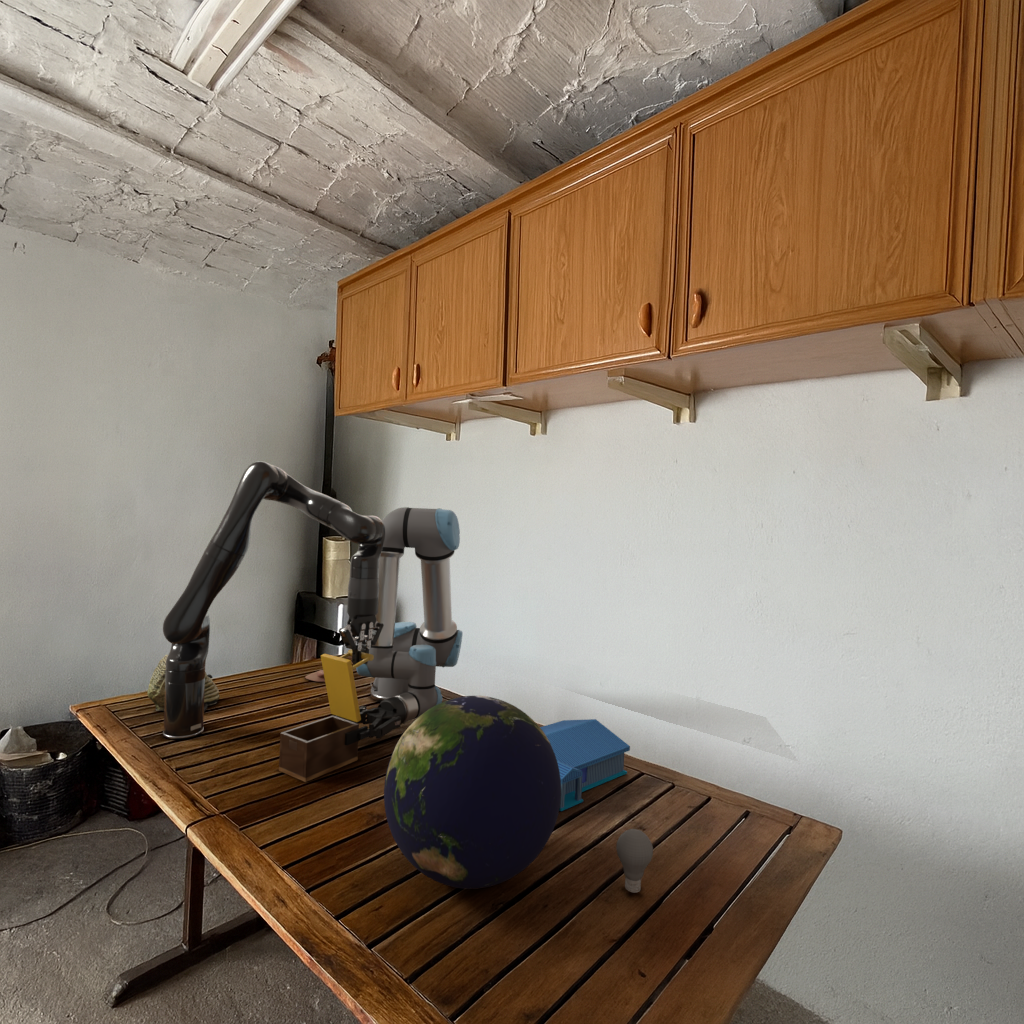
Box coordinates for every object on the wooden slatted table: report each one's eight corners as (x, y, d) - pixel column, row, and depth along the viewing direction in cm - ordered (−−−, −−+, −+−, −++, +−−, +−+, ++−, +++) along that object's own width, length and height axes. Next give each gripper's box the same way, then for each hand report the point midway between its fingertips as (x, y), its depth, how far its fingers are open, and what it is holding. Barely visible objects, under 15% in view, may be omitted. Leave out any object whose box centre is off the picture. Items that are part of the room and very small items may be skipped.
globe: (343, 899, 100) (350, 710, 100) (435, 815, 128) (441, 667, 127) (518, 958, 89) (528, 746, 88) (578, 852, 117) (585, 690, 116)
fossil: (144, 707, 182) (145, 655, 182) (212, 696, 194) (213, 647, 194) (151, 716, 175) (153, 662, 175) (221, 703, 188) (223, 653, 188)
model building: (516, 830, 123) (519, 779, 123) (442, 785, 141) (444, 740, 141) (638, 777, 150) (640, 735, 149) (562, 745, 168) (564, 707, 167)
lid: (347, 662, 149) (374, 646, 156) (320, 655, 154) (348, 640, 161) (357, 722, 152) (383, 704, 160) (330, 713, 157) (357, 696, 165)
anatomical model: (300, 668, 215) (317, 660, 226) (300, 679, 215) (317, 671, 226) (336, 672, 212) (352, 663, 224) (336, 683, 212) (351, 675, 224)
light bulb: (610, 879, 108) (613, 822, 108) (644, 879, 109) (647, 822, 109) (619, 902, 102) (622, 840, 102) (655, 901, 103) (658, 840, 103)
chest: (305, 782, 140) (307, 742, 140) (278, 770, 145) (280, 732, 145) (357, 760, 153) (359, 724, 153) (331, 750, 158) (332, 715, 158)
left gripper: (352, 600, 151) (349, 672, 151) (393, 594, 162) (390, 661, 162) (331, 596, 155) (328, 666, 155) (372, 591, 166) (369, 656, 166)
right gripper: (427, 734, 165) (363, 761, 146) (367, 715, 177) (301, 738, 158) (428, 705, 165) (364, 729, 146) (368, 688, 177) (302, 708, 158)
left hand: (360, 663), depth 159 cm, fingers closed
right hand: (331, 734), depth 152 cm, fingers closed on chest, 9 cm apart
